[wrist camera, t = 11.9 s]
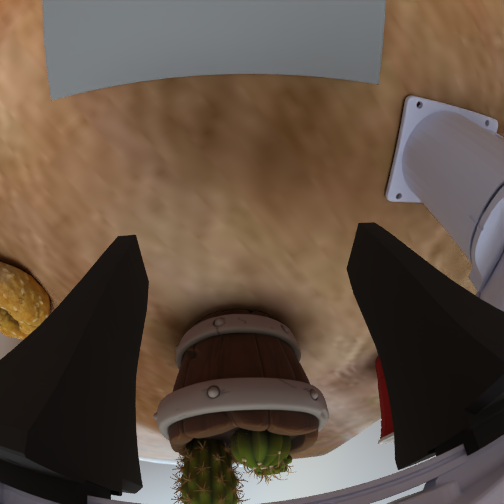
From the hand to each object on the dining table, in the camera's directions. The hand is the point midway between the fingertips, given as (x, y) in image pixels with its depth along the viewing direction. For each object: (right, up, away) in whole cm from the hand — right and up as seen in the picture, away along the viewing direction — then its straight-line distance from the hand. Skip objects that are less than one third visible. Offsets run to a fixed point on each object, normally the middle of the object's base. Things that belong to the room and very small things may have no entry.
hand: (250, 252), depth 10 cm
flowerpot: (-2, -9, +21) cm, 23 cm away
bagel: (-24, -4, +15) cm, 29 cm away
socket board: (-2, +17, 0) cm, 17 cm away
